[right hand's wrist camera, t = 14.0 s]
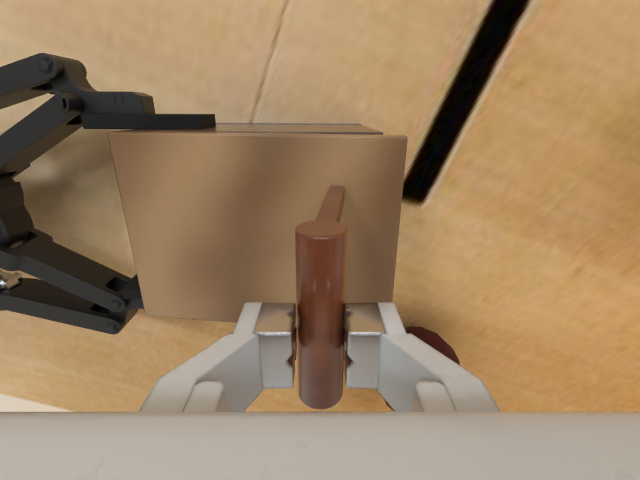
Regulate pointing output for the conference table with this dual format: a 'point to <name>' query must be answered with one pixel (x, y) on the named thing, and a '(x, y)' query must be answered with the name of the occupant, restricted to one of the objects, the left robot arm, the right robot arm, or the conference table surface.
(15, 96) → the left robot arm
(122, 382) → the conference table surface
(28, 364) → the conference table surface
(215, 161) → the lid
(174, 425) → the right robot arm
